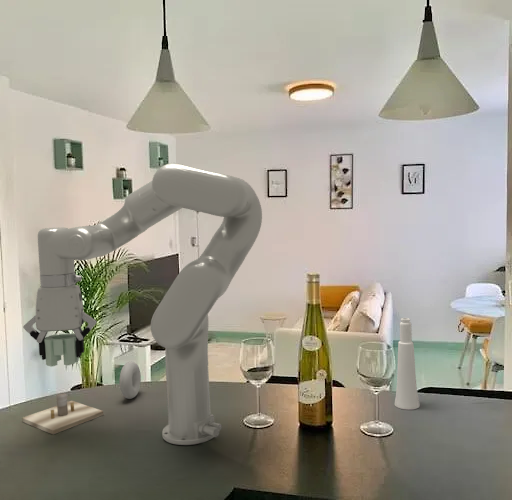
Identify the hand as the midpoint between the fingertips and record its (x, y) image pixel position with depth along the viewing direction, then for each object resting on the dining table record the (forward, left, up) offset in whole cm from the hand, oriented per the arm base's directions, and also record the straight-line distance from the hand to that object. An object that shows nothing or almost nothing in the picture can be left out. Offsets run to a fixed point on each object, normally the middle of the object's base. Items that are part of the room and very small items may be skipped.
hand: (62, 356), depth 124 cm
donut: (+5, -23, -18) cm, 30 cm away
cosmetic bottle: (-60, -57, -18) cm, 85 cm away
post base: (+8, -4, -18) cm, 20 cm away
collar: (0, 0, -1) cm, 1 cm away
